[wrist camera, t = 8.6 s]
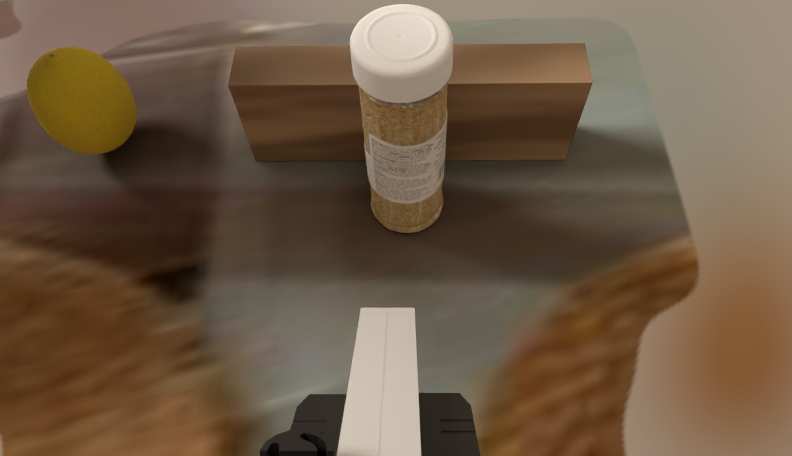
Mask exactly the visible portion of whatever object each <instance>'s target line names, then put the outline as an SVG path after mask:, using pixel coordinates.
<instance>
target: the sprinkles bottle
mask: <svg viewBox="0 0 792 456" xmlns="http://www.w3.org/2000/svg"><path fill="white" fill-rule="evenodd" d="M350 52H351V62H352V69H353V75H354V78H355V80H356V82H357V85H358V86H359V93H360V105H361V111H362V121H363V130H364V138H365V140H364V148H365V156H366V164H367V173H368V178H369V182H370V186H371V208H372V211H373V214H374V216H375V217H376V218H377V219H378V221H379V222H380V223H381V224H383V225H384V226H385V227H387V228H388V229H390V230H393V231H397V232H402V233H412V232H418V231H421V230H423V229H425V228H427V227H428V226H430V225H432V224H433V223H434V222H435V221H436V220H437V218H438V217H439V215H440V213H441V211H442V206H443V194H442V181H443V178H444V168H445V149H446V131H447V87H448V80H449V78H450V75H451V72H452V67H453V36H452V32H451V29H450V27H449V26H448V24H447V23H446V21H445V20H444V19H443V18H442V17H440V16H439V15H438V14H437V13H435V12H433V11H431V10H429V9H426V8H424V7H421V6H417V5H410V4H397V5H390V6H386V7H382V8H379V9H377V10H375V11H373V12H371V13H369V14H368V15H366V16H365V17H364V18H362V19H361V20H360V21H359V22H358V24H357V25H356V26H355V28H354V30H353V32H352V35H351V39H350Z"/></svg>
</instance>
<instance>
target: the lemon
mask: <svg viewBox="0 0 792 456" xmlns="http://www.w3.org/2000/svg"><path fill="white" fill-rule="evenodd" d="M27 93H28V99H29V102H30V105H31V108H32V110H33V112H34V114H35V116H36V118H37V120H38V121H39V123H40V125H41V126H42V127H43V129H44V130H45V131H46V132H47V133H48V134H49V135H50V136H51V137H52V138H54V139H55V140H56V141H57V142H58V143H59V144H61V145H63V146H64V147H66V148H69V149H71V150H73V151H75V152H79V153H84V154H102V153H106V152H110V151H112V150H114V149H116V148H118V147H119V146H121V145H122V144H123V143H124V142H125V141H126V140H127V139H128V138H129V136H130V135H131V133H132V131H133V129H134V126H135V123H136V104H135V100H134V98H133V95H132V93H131V90H130V88H129V86H128V84H127V82H126V81H125V79H124V78H123V77H122V76H121V74H120V73H119V72H118V71H117V70H116V69H115V68H114V67H113V66H112V65H111V64H110V63H109V62H108V61H107V60H106V59H104V58H103V57H101V56H100V55H98V54H96V53H94V52H92V51H90V50H86V49H82V48H77V47H64V48H58V49H55V50H52V51H50V52H48V53H46V54H44V55H43V56H42V57H41V58H39V59H38V60H37V61H36V62H35V64H34V65H33V67H32V69H31V70H30V73H29V76H28V79H27Z"/></svg>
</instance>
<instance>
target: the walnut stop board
mask: <svg viewBox="0 0 792 456" xmlns="http://www.w3.org/2000/svg"><path fill="white" fill-rule="evenodd" d="M592 83H593V82H592V77H591V72H590V67H589V62H588V57H587V52H586V47H585V43H568V44H467V45H453V67H452V72H451V75H450V78H449V80H448V87H447V131H446V149H445V160H565V159H566V156H567V153H568V151H569V148H570V145H571V142H572V139H573V137H574V134H575V131H576V128H577V125H578V123H579V120H580V117H581V114H582V111H583V108H584V106H585V103H586V100H587V97H588V94H589V92H590V89H591V86H592ZM228 86H229V89H230V92H231V95H232V97H233V100H234V103H235V105H236V108H237V111H238V114H239V116H240V119H241V122H242V124H243V127H244V130H245V132H246V135H247V138H248V141H249V143H250V146H251V149H252V151H253V154H254V157H255V160H256V161H366V156H365V148H364V140H365V138H364V130H363V121H362V111H361V105H360V93H359V86H358V85H357V82H356V80H355V78H354V75H353V69H352V62H351V52H350V46H264V47H236V49H235V54H234V59H233V64H232V69H231V74H230V79H229V84H228Z"/></svg>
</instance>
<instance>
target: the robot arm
mask: <svg viewBox="0 0 792 456" xmlns="http://www.w3.org/2000/svg"><path fill="white" fill-rule="evenodd" d="M260 456H480V452H479V447H478V441H477V436H476V431H475V426H474V422H473V415H472V410H471V405H470V404H469V403H468V402H467V401H466V400H465V399H464V398H463V396H462V395H461V394H460V393H418V372H417V350H416V327H415V308H361V311H360V317H359V323H358V329H357V335H356V341H355V347H354V353H353V359H352V365H351V371H350V378H349V384H348V390H347V394H310V395H309V396H308V397H307V398H305V399H304V400H303V401H302V402H301V403H300V404H299V405H298V406H297V409H296V412H295V416H294V419H293V423H292V426H291V429H290V430H289V431H286V432H283V433H280V434H277V435H275V436H274V437H272V438H271V439H269V440H268V441H266V442H265V444H264V445H263V447H262V448H261V450H260Z"/></svg>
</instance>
